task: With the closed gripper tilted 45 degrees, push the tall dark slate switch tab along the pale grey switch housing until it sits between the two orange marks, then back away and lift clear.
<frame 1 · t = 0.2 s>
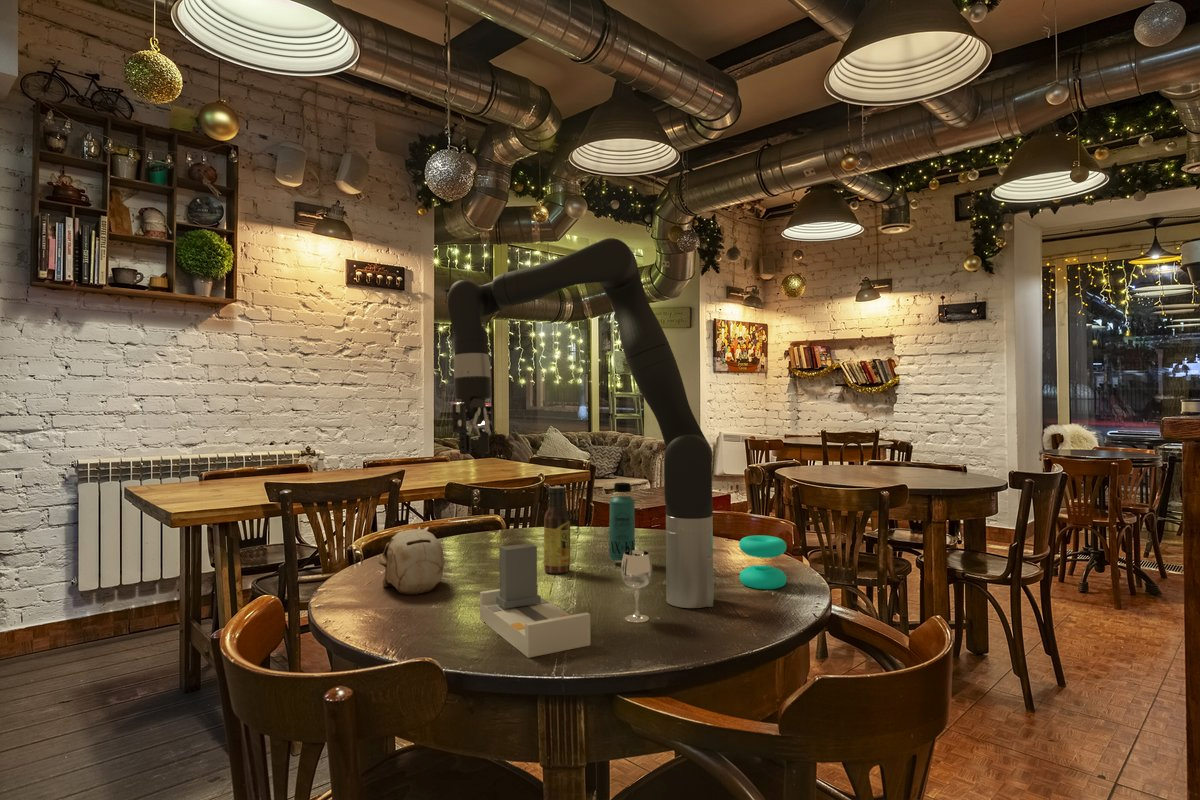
hand: (475, 453, 142), 29 cm above the table, tool pointing down, fingers open, 8 cm apart
wineglass: (636, 619, 124), on the table
lily: (412, 567, 165), on the table
switch housing: (532, 631, 118), on the table
beverage bottle: (622, 564, 167), on the table
switch tab: (518, 574, 123), point 8 cm above the table, slide at 0.0 cm
coin bank: (411, 587, 148), on the table
sauce bottle: (557, 572, 160), on the table
donuts: (762, 585, 148), on the table
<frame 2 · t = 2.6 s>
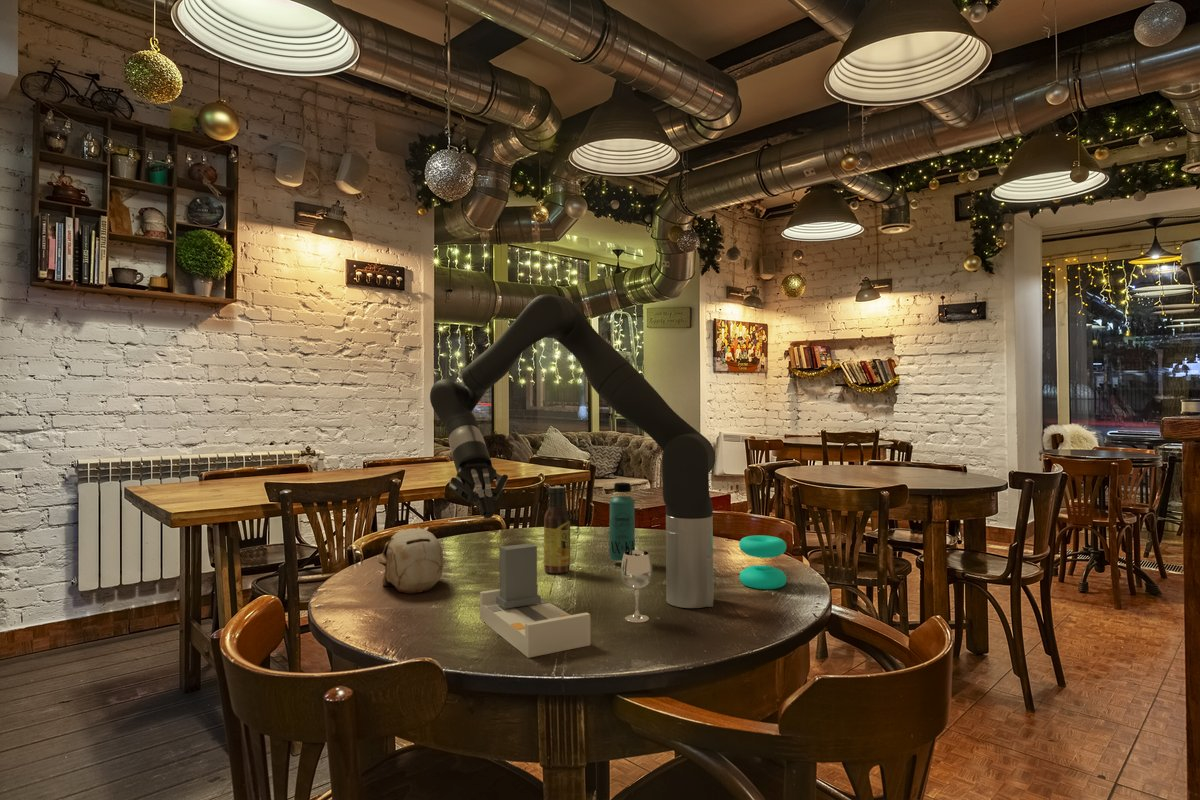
hand: (489, 515, 136), 17 cm above the table, tool tilted 45°, fingers closed
coin bank: (410, 586, 148), on the table
everything else where it was.
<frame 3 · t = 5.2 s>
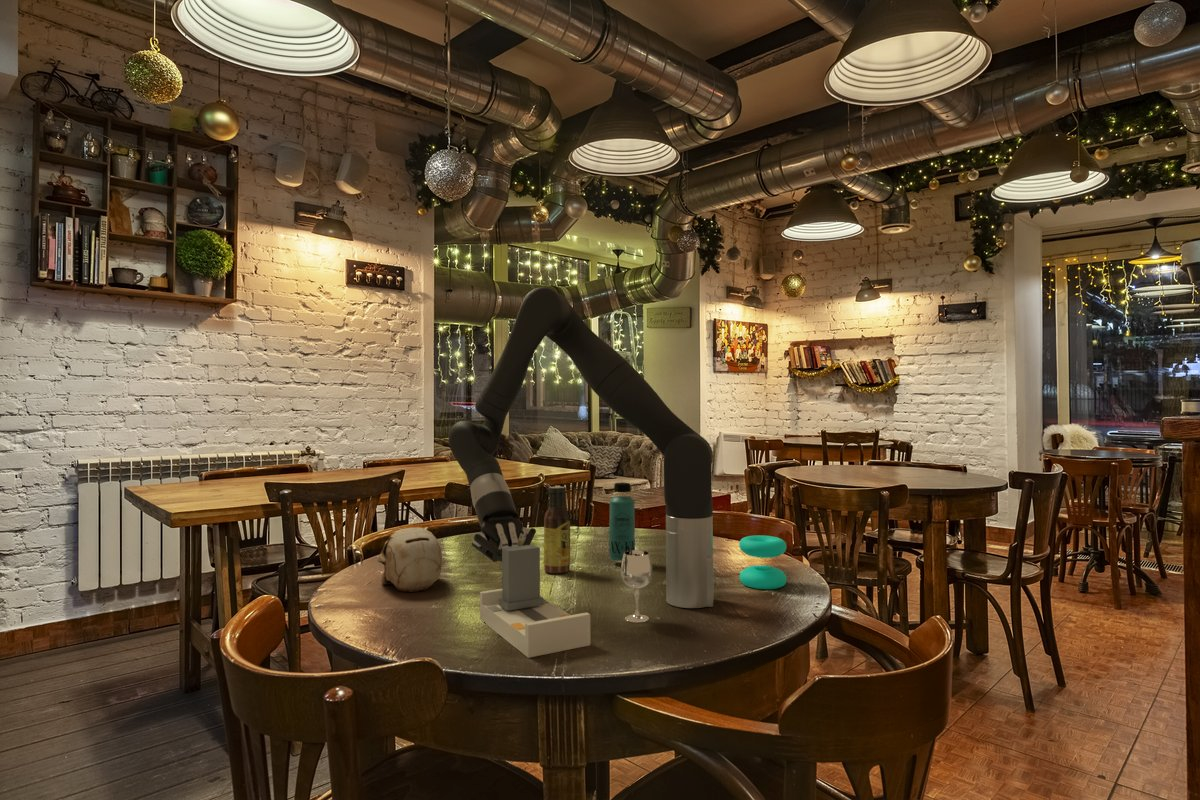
hand: (517, 577, 124), 8 cm above the table, tool tilted 45°, fingers closed
switch tab: (521, 576, 122), point 8 cm above the table, slide at 1.3 cm, touching gripper
coin bank: (410, 585, 150), on the table
everything else where it was.
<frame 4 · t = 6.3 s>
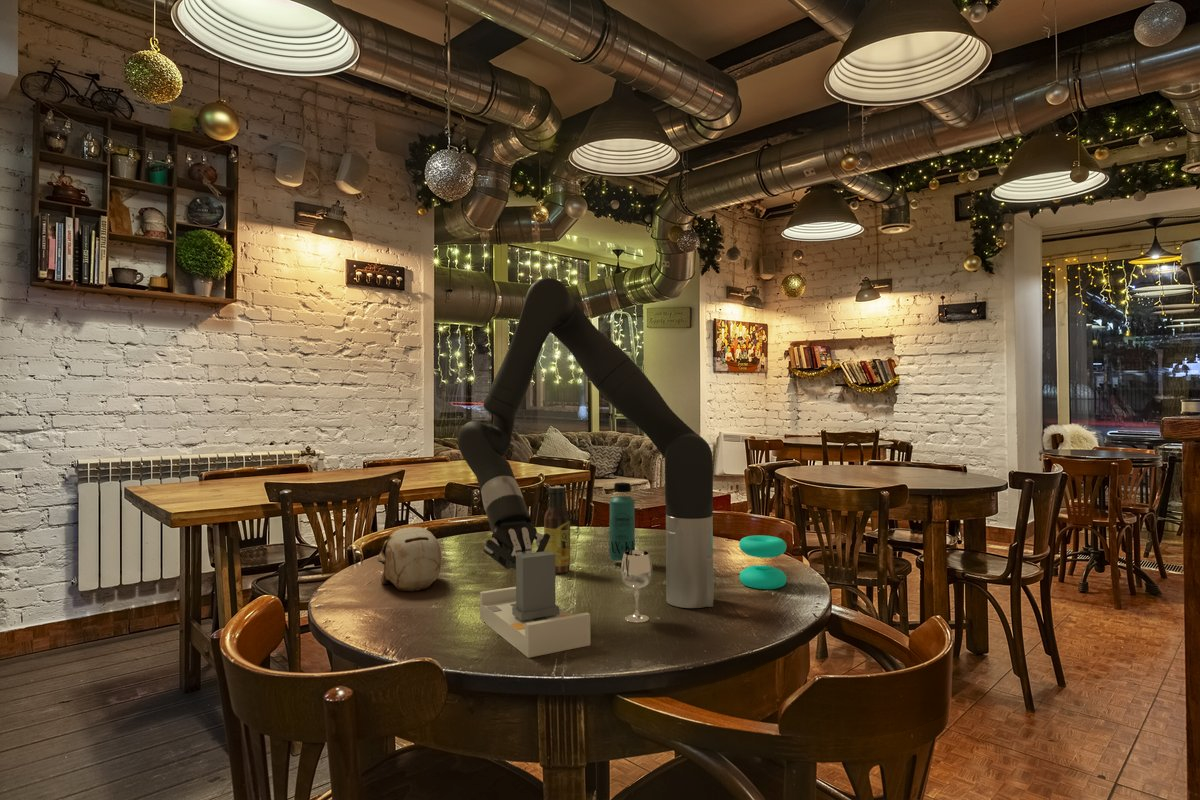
hand: (531, 585, 118), 8 cm above the table, tool tilted 45°, fingers closed
switch tab: (535, 584, 116), point 8 cm above the table, slide at 7.7 cm, touching gripper
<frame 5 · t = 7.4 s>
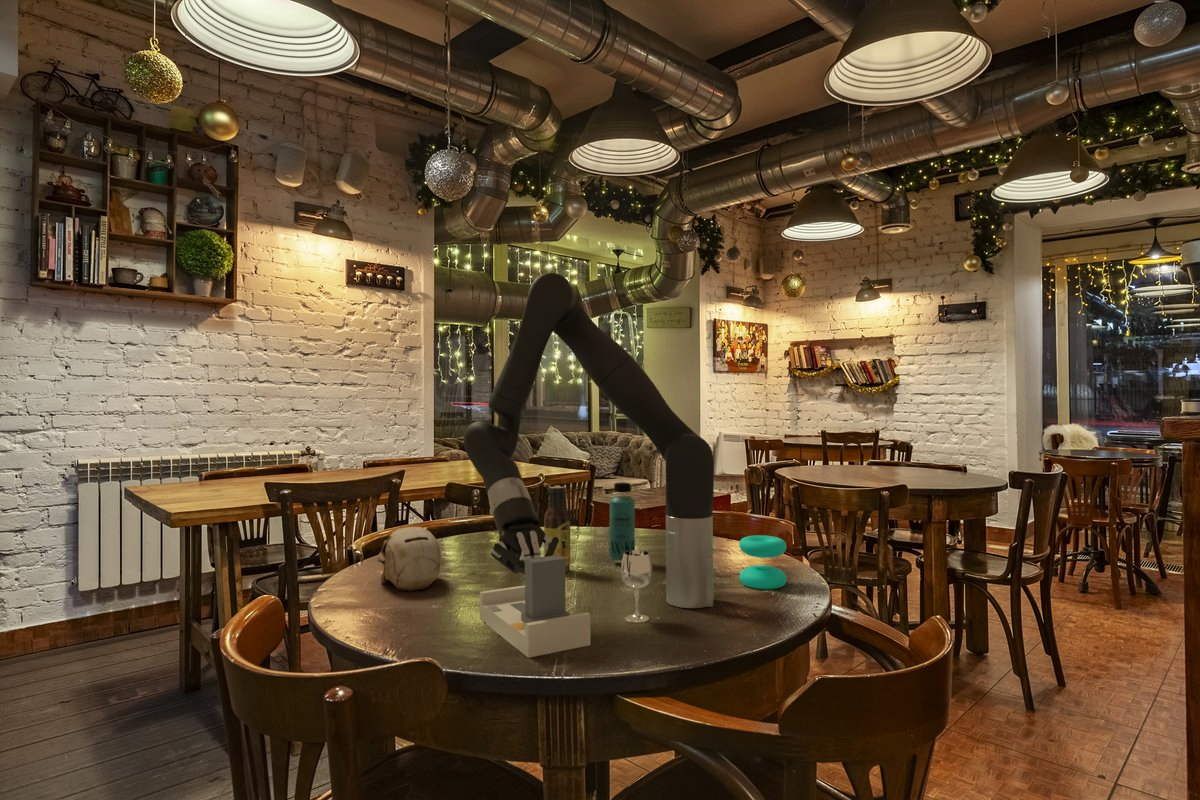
hand: (540, 590, 115), 8 cm above the table, tool tilted 45°, fingers closed
lily: (410, 568, 165), on the table, touching coin bank
switch tab: (545, 589, 113), point 9 cm above the table, slide at 11.5 cm, touching gripper
coin bank: (409, 584, 150), on the table, touching lily
everything else where it was.
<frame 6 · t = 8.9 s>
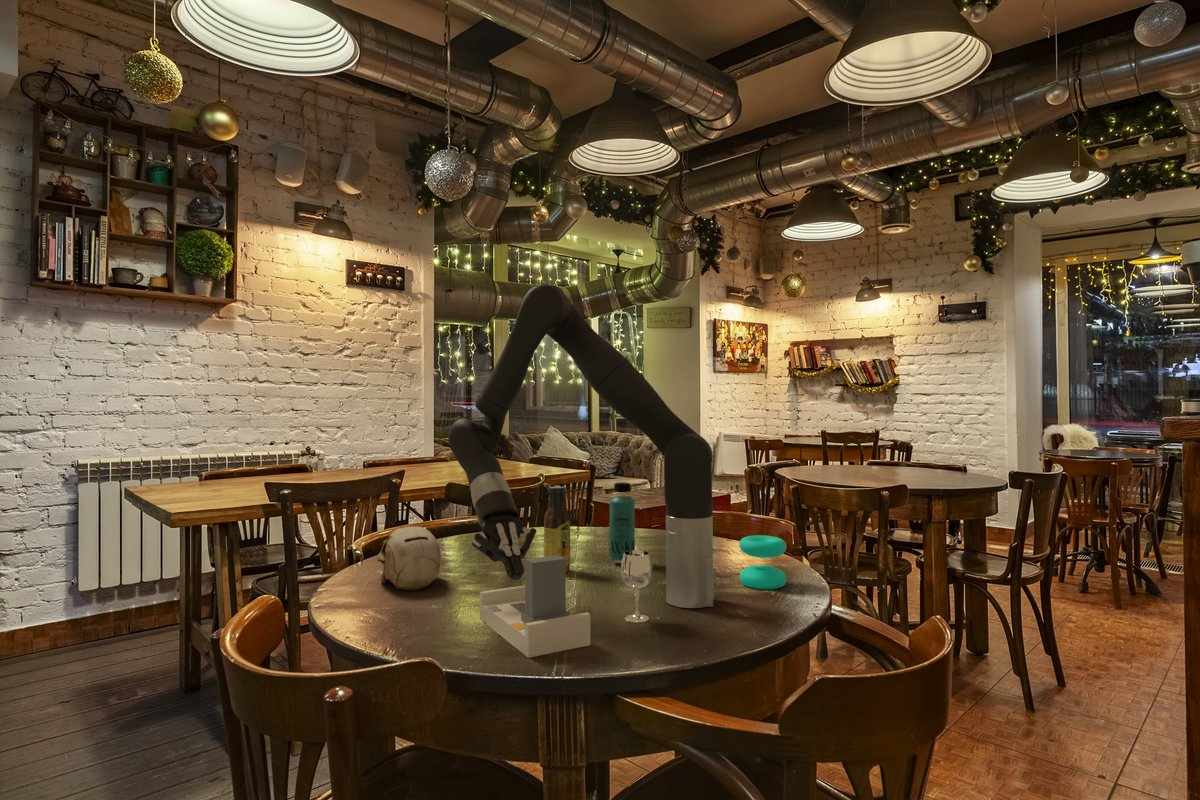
hand: (517, 577, 122), 8 cm above the table, tool tilted 45°, fingers closed
lily: (409, 568, 165), on the table
switch tab: (545, 589, 113), point 8 cm above the table, slide at 11.5 cm
coin bank: (408, 583, 151), on the table
everything else where it was.
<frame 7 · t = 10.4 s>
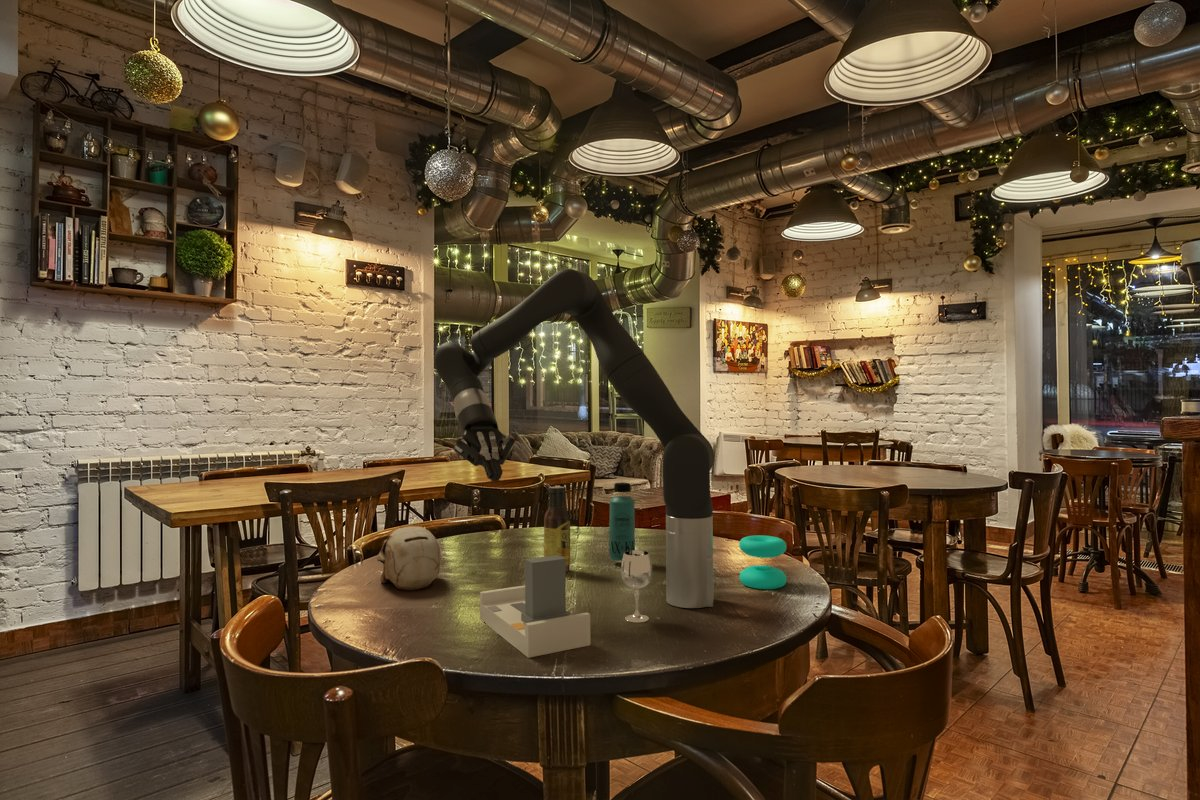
hand: (496, 478, 132), 25 cm above the table, tool tilted 45°, fingers closed
nothing on the table moved.
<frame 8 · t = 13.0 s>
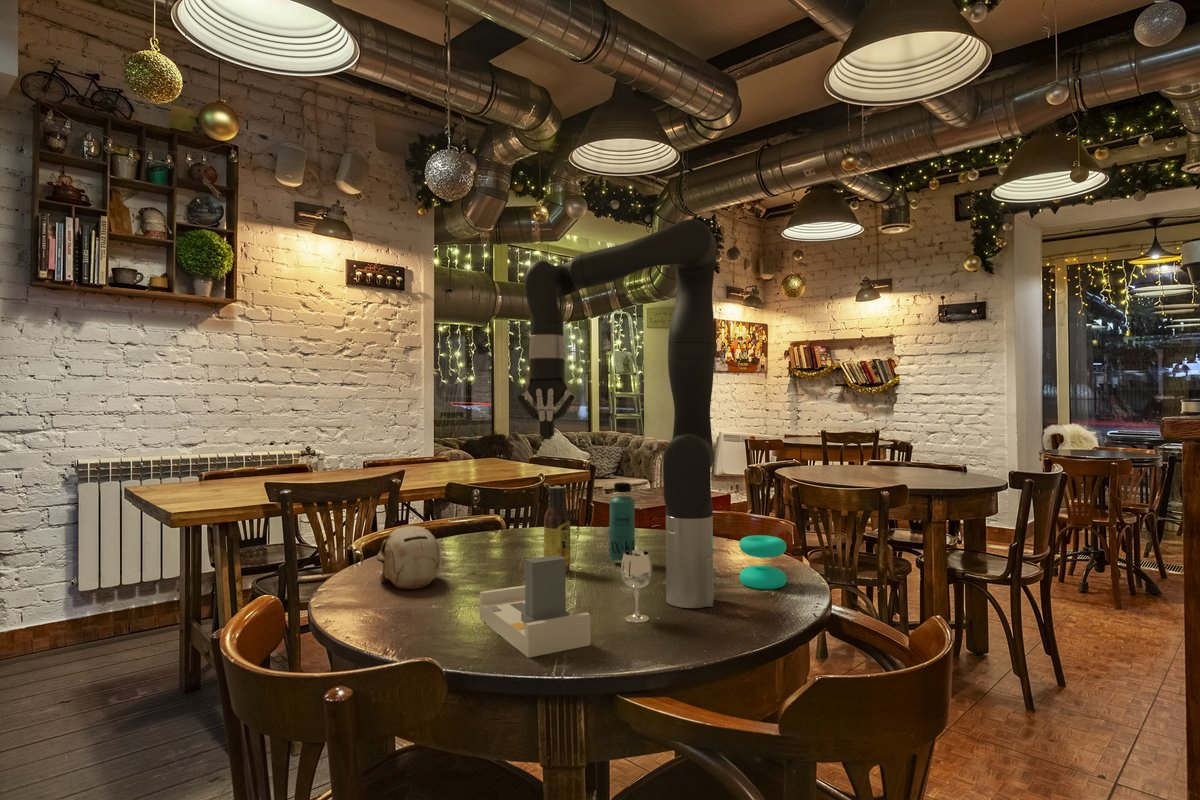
hand: (547, 438, 144), 32 cm above the table, tool pointing down, fingers closed
at the end: switch tab slide at 11.5 cm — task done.
